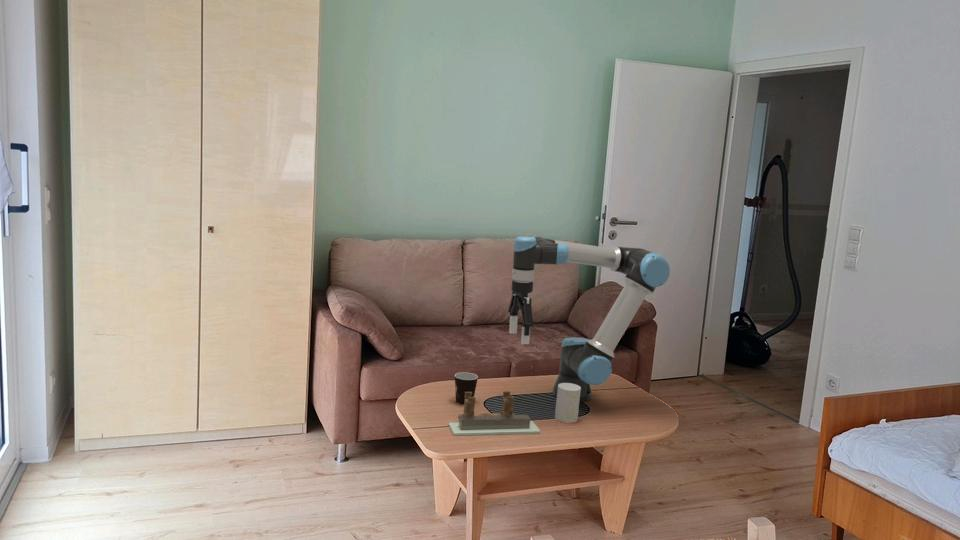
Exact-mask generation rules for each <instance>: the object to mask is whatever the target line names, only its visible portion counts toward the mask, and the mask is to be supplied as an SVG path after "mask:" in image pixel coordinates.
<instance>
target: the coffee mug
mask: <svg viewBox="0 0 960 540" xmlns="http://www.w3.org/2000/svg"><path fill="white" fill-rule="evenodd" d="M478 379H479V376H478V375H477V374H475V373H472V372H466V371H460V372H457V373H455V374H454V387H455V388H454V392H455V402H456V404H458V405H463V406H464V401H465V399H468V398H465V392H472V397H475V394H476V389H477V383H478Z"/></svg>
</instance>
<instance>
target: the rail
mask: <svg viewBox="0 0 960 540" xmlns="http://www.w3.org/2000/svg"><path fill="white" fill-rule="evenodd" d="M530 421H531V418H530V416H529V415H528V414H514V415H487V416H459V417H458V422H459V427H460V429H461V430H482V429H523V428H529V427H530Z"/></svg>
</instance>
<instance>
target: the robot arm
mask: <svg viewBox="0 0 960 540" xmlns="http://www.w3.org/2000/svg"><path fill="white" fill-rule="evenodd" d="M566 263H573V264H579V265H587V266H594V267H599V268H608V269H609V270H610V271H611V272H617V273H621V274H624V275H625V277H624V281H625V285H624V287H623V288H622V289H621V291H620V293H619V295H618V296H617V298H616V300H615V301H614V303H613V304H612V307H611V308H610V310H609V312H608V313H607V315H606V316H605V318H604V320H603V322H602V323H601V325H600V327H599V328H598V330H597V332H596V333H595V335H594V337H593V338H592V339H590V338H584V337H575V336H573V337H565V338H563V340H562V343H561V346H560V348H561V350H560V361H559V369H558V371H559V372H558V375H557V377H556V380H555V382H554V384H553V387H552V395H553V396H555V397H556V398H557V391H558V384H560V383H572V384H576V385H578V386H580V387H581V391H580V401H579V403H581V402H587V401H590V399H591V398H592V388H591V386H598V385H601V384H604V383H605V382H606V381H608V379H609V378H610V376H611V375H612V371H613V369H612V362H613V361H614V359H615V353H614V351H615V349H616V347H617V346H618V343H620V340H621V338H622V337H623V336H624V334H625V332H626V330H627V329H628V327H629V326H630V324H631V322H632V320H633V319H634V317H635V316H636V314H637V312H638V310H639V309H640V306H641V305H642V304H643V302H644V300H645V299H646V297H647V296H649V295H652V294H653V293H654V291H655V290H656V289H657V288H658V287H661V286H663V285H665V284H666V283H667V281H668V279H669V277H670V272H671V269H670V264H669V262H668V260H667V259H666V258H665V257H664V256H662V255H660V254H658V253H656V252H653V251H650V250H646V249H644V248H642V247H641V248H640V247H624V246H618V245H617V246H616V245H615V246H613V247H604V246H599V245H598V246H597V245H592V244H585V243H579V242H572V241H571V242H570V241H565V240H557V239H551V238H543V237H541V236H538V235H536V236H518V237H516V238H515V240H514V244H513V261H512V271H511V276H512V277H511V278H512V281H511V298H510V300H509V301H510V302H509V306H508V310H507V312H508V313H509V327H508V328H509V331H508V333H509V334H511V335H513V334H514V335H515V334H518V320H519V311H520V313H521V320H522V325H521V339H520V343H521V344H520V345H530V338H531V337H530V335H531V327H533V326H534V320H533V311H532V310H533V309H532V297H529V296H528V295H529V294H531V293H532V292H533V290H534V282H533V281H534V280H535V279H534V278H535V265H557V266H558V265H564V264H566Z"/></svg>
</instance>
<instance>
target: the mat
mask: <svg viewBox="0 0 960 540" xmlns="http://www.w3.org/2000/svg"><path fill="white" fill-rule="evenodd" d="M447 425H448V427H449V429H450V431H451V433H452V435H453V437H455V436H456V437H457V436H458V437H459V436H464V437H465V436H493V435H494V436H495V434H496V436H497V434H499V435H500V434H502V435H530V434H531V435H532V434H533V435H535V434H536V435H537V434H541V432H542V431H541V430H540V428H539V427H538V426H537V424H535V422H534V421H533V420H530V427H529V428H523V429H482V430H461V429H460V427H459V421H458V422H448V424H447ZM499 435H498V436H499Z"/></svg>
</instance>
